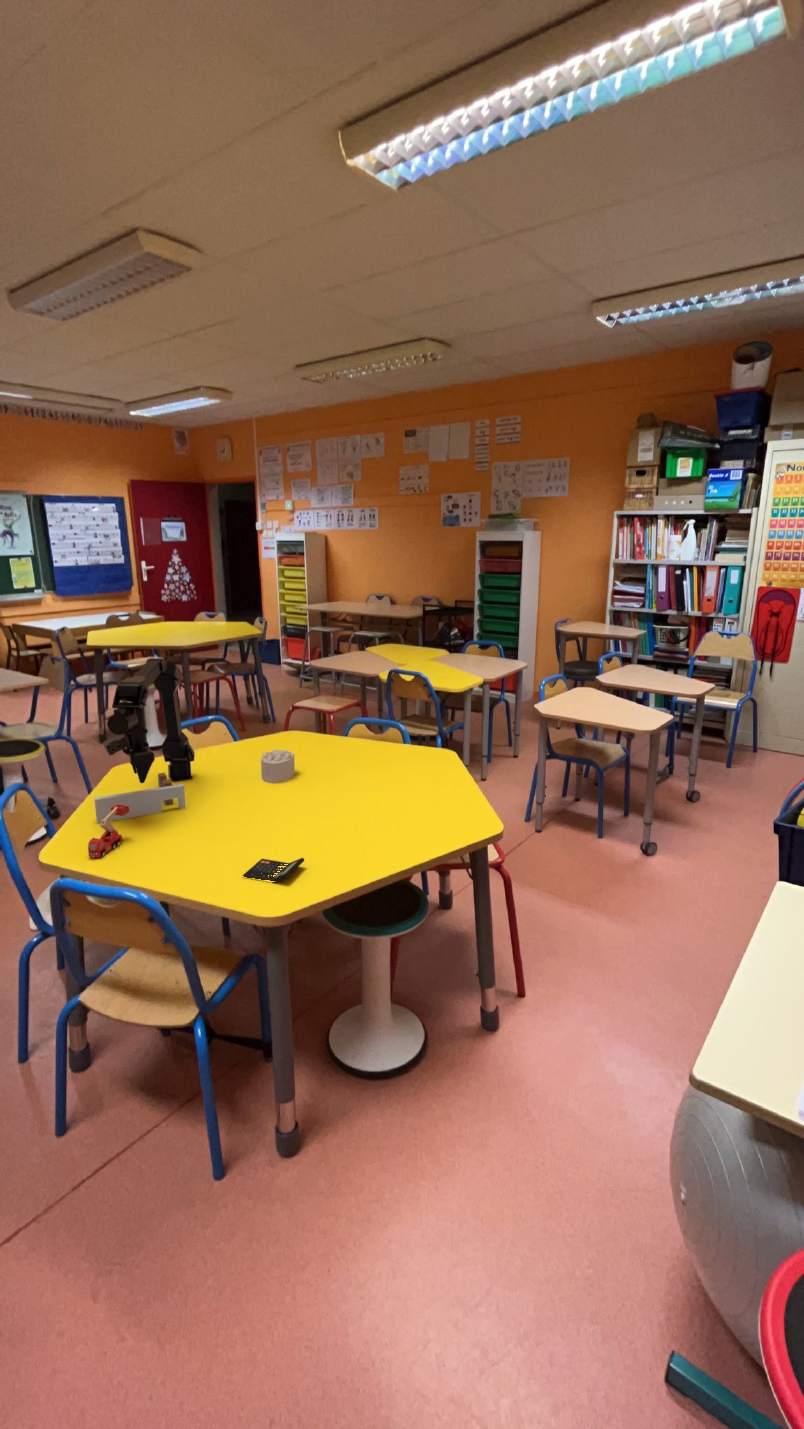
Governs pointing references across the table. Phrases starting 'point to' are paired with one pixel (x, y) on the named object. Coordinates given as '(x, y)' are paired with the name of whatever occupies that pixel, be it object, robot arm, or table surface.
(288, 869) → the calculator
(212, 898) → the table surface
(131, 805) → the grey board
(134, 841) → the table surface
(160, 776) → the walnut stand
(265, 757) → the lumpy-topped squat cylinder
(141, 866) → the table surface
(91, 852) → the toy fire truck
